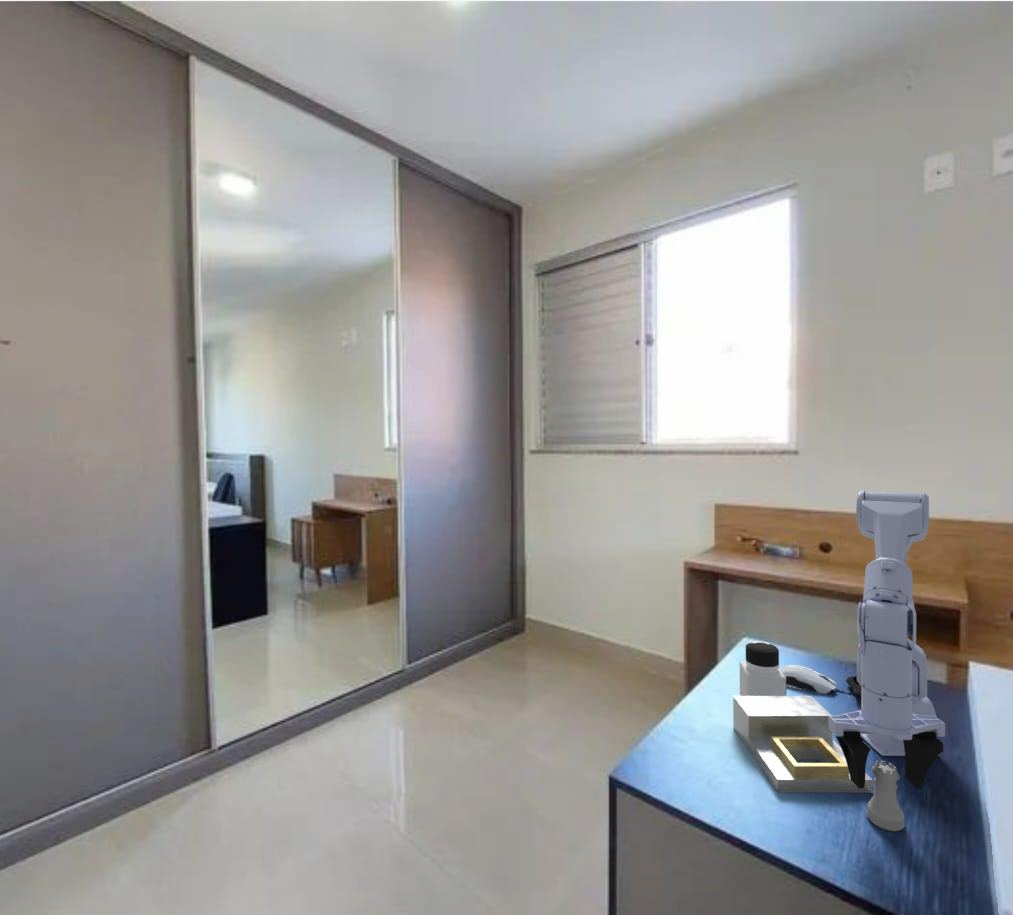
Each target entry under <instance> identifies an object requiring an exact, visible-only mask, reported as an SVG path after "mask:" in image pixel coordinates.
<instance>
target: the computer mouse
mask: <svg viewBox="0 0 1013 915" xmlns="http://www.w3.org/2000/svg"><path fill="white" fill-rule="evenodd" d="M779 668H780V670H781V671H782V673H783V674H784V676H785V677H786V686H791V687H795V688H801V689H800V690H803V689H805V690H804V691H808V690H810V691H809V692H813V691H815V692H814V693H817V692H818V693H817V694H821V693H823V694H822V695H827V694H828V693H830V692H832V691H831V690H836V692H839V691H841V692H840V693H842V692H845V691H843V690H840V689H838V688H837V686H838V685H837V683H836V681H835V680H834V679H831V678H830V677H828V676H826V675H824V674H823V673H820V672H818V671H815V670H814V669H811V668H809V667H807V666H803V665H802V666H801V665H799V664H788V665H784V666H781V667H779ZM845 682H846V684H847V685H848V686H849V687H850V688H851V689H852V692H853V693H852V692H851V693H852V694H854V695H853V696H855V698H856V699H855V700H856V702H857V703H858V705H859V706H860V705H861V685H860V684H859V683H858V682H857V675H851V676H847V678H846V680H845ZM795 688H794V689H795ZM846 692H847V693H849V692H848V691H846Z"/></svg>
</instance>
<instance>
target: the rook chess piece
mask: <svg viewBox="0 0 1013 915" xmlns="http://www.w3.org/2000/svg"><path fill="white" fill-rule="evenodd" d="M897 768H898V767H896V766H894V764H893V763H891V762H888V763H887V764H886V761H885V760H880V761H878V760H876V761H874V765H873V766H872V767H871V772H872V773H873V775H874V776H875V777H874V778H873V779H872V780H873V784H874V789H873V796H872V797H871V798H870V800H869V801H868V803H867V804H866V805H867V806H866V811H865V813H866V816H867V818H868V820H870V822H871V823H872V824H873V825H874V826H877V827H878V828H880V829H882V830H884V831H888V832H892V833H893V832H899V831H901V830H903V829H905V827H906V822H905V814H904V813H903V811H902V809H901V806H900V804H899V803H898V796H897V790H898V788H899V786H898V784H897V781H898V780H900V778H901V776H900V774H899V772H898V771H897V770H898V769H897Z"/></svg>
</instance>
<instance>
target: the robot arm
mask: <svg viewBox="0 0 1013 915" xmlns="http://www.w3.org/2000/svg"><path fill="white" fill-rule="evenodd" d="M929 500H930V498H929V495H928V494H926V492H920V493H919V492H893V491H868V490H867V491H866V490H864V489H862V490H860V491H858V493H857V495H856V508H855V509H856V523H857V524H858V526H857V527H858V529H859V531H860V532H861V535H862V536H863V537H865V538H868V539H871V540H872V541H873V542H874V551H875V552H874V554H875V555H874V556H875V559H874V560H873V559H872V561H869V562H868V563H867V565H866V567H865V569H864V570H865V571H864V572H865V573H864V584H863V595H862V596H863V597H862V602H861V601H859V602H858V606H857V616H856V617H857V619H856V621H857V622H856V624H857V625H856V626H857V636H858V639H859V640H858V642H859V643H858V647H857V655H856V657H857V658H856V676H857V682H858V683H859V684H860V685H861V702H860V703H861V706H860V709H859V710H856V711H851V712H850V711H849V712H847V713H842V714H841V713H840V714H835V715H832V716H828V729H829V730H830V731H831V732H832V735H834V737H835V738H836V740H837V742H838V745H839V746H840V747H841V749H842V751H843V754H844V756H845V759H846V762H847V766H848V770H849V774H850V779H851V781H852V782H853V783H854V784H855V785H856V786H857V787H858V788H864V786H865V773H866V766H867V761H868V756H869V753H870V751H871V747H872V749H874V750H875V751H876V752H877V753H878V754H880V756H883V757H904V773H905V778H906V779H905V780H907V782H908V783H910V784H911V785H912V786H913V787H914V788H915V789H916V790H919V789H920V790H921V789H922V787H923V784H924V782H925V780H926V777H927V774H928V772H929V770H930V767H931V766H932V764H933V763H934V761H935V760H936V759H937V758H938V757H939V756H940V755H941V754H942V753H943V752H944V743H943V742H942V741H941V740H940V739H939V737H940V738H942V737H943V738H946V722H944V721H943V720H941V719H939V717H937V713H936V710H935V707H934V704H933V703H932V702H931V699H929V697H928V696H927V695H928V664H927V655H926V653H925V651H924V650H923V648H921V647H920V646H919V645H918V644H917V612H916V609H915V608H916V607H915V602H914V599H913V597H914V596H913V593H914V592H913V591H914V590H913V588H914V587H913V586H914V585H913V580H914V579H913V571H912V569H911V568H910V567H909V566H908V552H909V551H910V548H911V546H912V544H913V543H918V542H921V541H924V540H926V539H925V538H926V536H928V529H929V521H930V520H929V519H930V501H929ZM909 636H910V638H911V639H912V640H911V639H910V638H908V637H909ZM937 737H938V738H937ZM863 740H864V741H866V743H868V744H869V745H870V746H871V747H869V746H868V745H867V744H866V743H865V742H864V741H863Z"/></svg>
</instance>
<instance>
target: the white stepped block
mask: <svg viewBox="0 0 1013 915" xmlns="http://www.w3.org/2000/svg"><path fill="white" fill-rule="evenodd" d="M732 698H733V703H732V704H733V705H732V706H733V708H732V710H733V712H732V713H733V714H732V716H733V718H732V719H733V720H732V721H733V729H734V731H735V732H736V734H737V733H738V734H737V735H738V737H739V738H740V739H741V741H742V742H743V744H744V745H745V747H746V749H748V751H749V753H750V754H751V756H752V757H753V758H754V760H755V762H756V763H757V764H758V767H759V766H760V769H761V771H763V773H764V774H765V776H766V778H767V780H768V781H770V783H771V785H772V786H773V788H774V789H775V791H776V792H777V793H805V794H807V793H809V794H810V793H813V794H814V793H818V794H819V793H820V794H821V793H824V794H826V793H827V794H830V793H831V794H832V793H833V794H834V793H835V794H837V793H838V794H842V793H843V794H847V793H848V794H874V781H873V779H872V777H871V776H869V774H868V773H866V772H865V786H864V788H858V787H857V786H856V785H855V784H854V783H853V782H852V781H851V779H850V774H849V770H848V766H847V762H846V759H845V756H844V754H843V751H842V749H841V747H840V744H839V743H837V742H836V741H835V740H834V739H833V733H832V732H831V731H830V730H829V729H828V716H833V714H831V713H830V712H829V711H828V710H826V709H825V708H824V707H823V705H821V704H820V703H819V702H818V701H817V700H816V699H815V698H814V697H813V696H812V695H786V696H741V695H733V696H732ZM799 760H800V761H801V760H802V761H803V760H804V761H806V760H809V761H810V760H811V761H817V760H818V761H819V762H797V761H799Z"/></svg>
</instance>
